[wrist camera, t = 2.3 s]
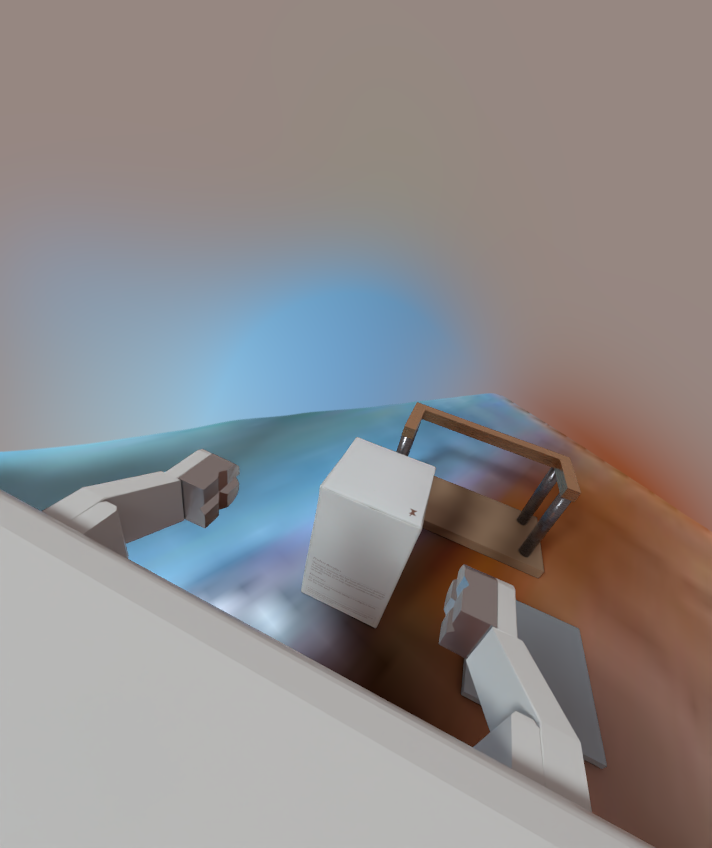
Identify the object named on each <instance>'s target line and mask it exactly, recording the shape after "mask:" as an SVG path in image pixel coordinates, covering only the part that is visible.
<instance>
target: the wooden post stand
mask: <svg viewBox="0 0 712 848" xmlns="http://www.w3.org/2000/svg"><path fill="white" fill-rule="evenodd" d="M422 419H424V420H426V421H429V422H432V423H434V424H437V425H440V426H442V427H445V428H448V429H450V430H453V431H456V432H459V433H461V434H464V435H467V436H469V437H472V438H475V439H477V440H480V441H483V442H485V443H488V444H491V445H494V446H496V447H499V448H502V449H504V450H507V451H510V452H512V453H515V454H518V455H520V456H523V457H526V458H529V459H531V460H534V461H537V462H539V463H542V464H545V465H547V466H550V467H551V468H550V470H549V471H548V473H547V474H546V476H545V477H544V479H543V480H542V482H541V483H540V485H539V486H538V488H537V489H536V491H535V492H534V494H533V495H532V497H531V498H530V500H529V501H528V503H527V504H526V506H525V507H524V508H523V510H522V511H521V513H520V514H519V516H518V517H517V522H518V523H519V524H521V525H526V524H527V523H528V522H529V520H530V519H531V517H532V516H533V514H534V513H535V512H536V510H537V509H538V507H539V506H540V505H541V503H542V502H543V500H544V499H545V497H546V496H547V495H548V493H549V492H550V490H551V489H552V488H553V486H554V485H555V483H556V482H557V483H558V487H559V491H560V493H559V494H558V495H557V497H556V498H555V500H554V501H553V502H552V504H551V505H550V506H549V508H548V509H547V511H546V512H545V513H544V515H543V516H542V517H541V519H540V520H539V522H538V523H537V524H536V526H535V527H534V528H533V530H532V531H531V533H530V534H529V535H528V537H527V538H526V539H525V541H524V542H523V544H522V545H521V546H520V548H519V549H518V551H519V553H520V554H521V555H522V556H524V557H529V556H530V555H531V553H532V552H533V551H534V549H535V548H536V547H537V546H538V544H539V543H540V542H541V540H542V539H543V538H544V536H545V535H546V534H547V533H548V531H549V530H550V529H551V527H552V526H553V525H554V523H555V522H556V521H557V520H558V518H559V517H560V516H561V514H562V513H563V512H564V510H565V509H566V508H567V506H568V505H569V504H570V503H571V501H573V502H575V500H576V499H577V498H578V496H579V495H580V494H581V491H580V487H579V484H578V481H577V478H576V475H575V472H574V469H573V466H572V463H571V459H570V457H567V456H564V455H561V454H559V453H556V452H553V451H550V450H548V449H545V448H542V447H539V446H537V445H534V444H531V443H528V442H525V441H523V440H520V439H517V438H514V437H512V436H509V435H506V434H503V433H501V432H498V431H495V430H492V429H490V428H487V427H484V426H481V425H479V424H476V423H473V422H470V421H468V420H465V419H462V418H459V417H456V416H454V415H451V414H448V413H445V412H443V411H440V410H437V409H434V408H432V407H429V406H426V405H423V404H421V403H418V402H417V403H416V405H415V407H414V409H413V411H412V413H411V415H410V417H409V419H408V421H407V423H406V424H405V427H404V429H403V432H402V437H401V439H400V442H399V445H398V448H397V451H396V452H397V453H400V454H402V455H405V456H408V455H409V452H410V449H411V447H412V444H413V441H414V439H415V436H416V433H417V431H418V428H419V425H420V423H421V420H422Z"/></svg>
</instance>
